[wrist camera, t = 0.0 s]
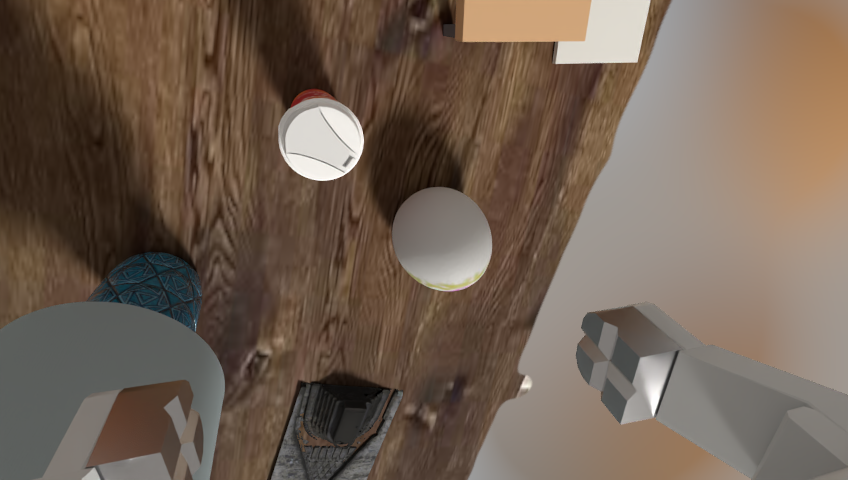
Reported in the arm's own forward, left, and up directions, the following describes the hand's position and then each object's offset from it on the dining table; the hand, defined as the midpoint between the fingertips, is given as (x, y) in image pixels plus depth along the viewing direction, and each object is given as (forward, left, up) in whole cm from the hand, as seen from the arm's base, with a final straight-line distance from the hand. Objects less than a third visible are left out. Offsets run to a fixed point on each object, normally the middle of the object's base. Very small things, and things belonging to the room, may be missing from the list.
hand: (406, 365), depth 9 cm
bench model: (-7, +22, -48) cm, 53 cm away
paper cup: (+4, 0, -48) cm, 48 cm away
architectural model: (+61, -3, -49) cm, 78 cm away
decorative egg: (+19, +14, -48) cm, 54 cm away
